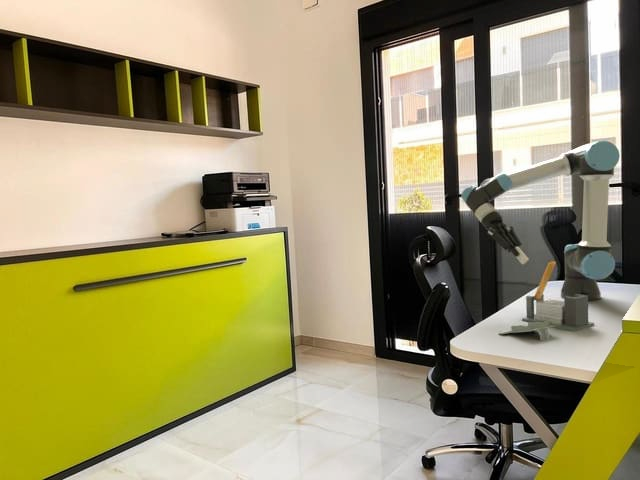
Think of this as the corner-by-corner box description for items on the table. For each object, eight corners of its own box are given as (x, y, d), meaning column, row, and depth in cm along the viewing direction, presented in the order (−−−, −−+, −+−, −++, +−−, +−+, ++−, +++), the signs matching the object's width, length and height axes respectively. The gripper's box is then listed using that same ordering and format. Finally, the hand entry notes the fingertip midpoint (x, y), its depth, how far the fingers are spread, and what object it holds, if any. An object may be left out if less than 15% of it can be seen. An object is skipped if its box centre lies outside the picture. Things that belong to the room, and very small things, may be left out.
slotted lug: (564, 325, 163) (564, 296, 162) (577, 321, 166) (576, 294, 166) (575, 327, 160) (575, 298, 159) (588, 323, 163) (588, 295, 162)
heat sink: (524, 317, 176) (524, 296, 175) (541, 313, 180) (540, 293, 179) (561, 325, 163) (560, 302, 162) (577, 320, 167) (577, 298, 167)
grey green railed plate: (522, 320, 175) (522, 318, 175) (543, 315, 181) (543, 312, 181) (572, 331, 158) (572, 329, 158) (594, 325, 164) (594, 322, 164)
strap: (535, 300, 175) (532, 298, 176) (540, 299, 176) (537, 297, 177) (551, 263, 168) (547, 261, 169) (556, 262, 169) (553, 260, 170)
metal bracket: (561, 318, 154) (526, 325, 148) (565, 336, 153) (530, 344, 147) (527, 322, 167) (494, 328, 161) (531, 339, 166) (498, 346, 160)
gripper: (495, 222, 197) (531, 266, 184) (472, 224, 191) (507, 270, 178) (505, 209, 192) (543, 253, 179) (482, 211, 186) (519, 257, 173)
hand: (525, 261), depth 179 cm, fingers closed
